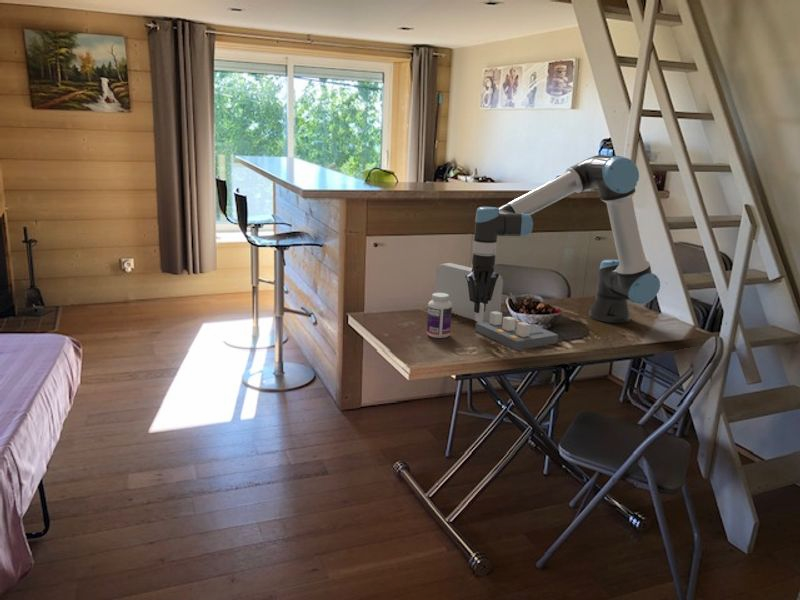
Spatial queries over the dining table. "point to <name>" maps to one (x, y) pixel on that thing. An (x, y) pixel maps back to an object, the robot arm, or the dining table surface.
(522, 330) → the switch
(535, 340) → the switch board
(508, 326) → the switch middle
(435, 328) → the pill bottle
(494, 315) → the switch
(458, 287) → the rounded white slab
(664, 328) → the dining table surface
